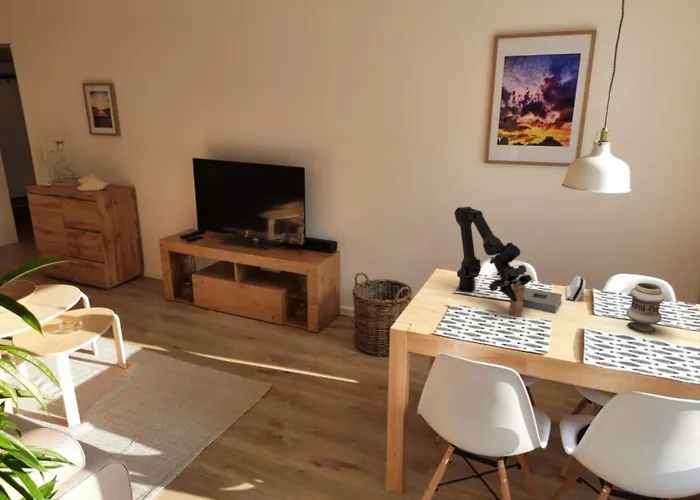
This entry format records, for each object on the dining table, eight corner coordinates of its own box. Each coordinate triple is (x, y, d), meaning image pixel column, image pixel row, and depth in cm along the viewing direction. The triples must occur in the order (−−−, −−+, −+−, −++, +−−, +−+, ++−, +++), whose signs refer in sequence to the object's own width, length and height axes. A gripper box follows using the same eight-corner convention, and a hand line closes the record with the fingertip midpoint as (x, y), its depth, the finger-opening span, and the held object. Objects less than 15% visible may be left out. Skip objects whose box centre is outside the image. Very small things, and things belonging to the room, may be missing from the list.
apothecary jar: (617, 324, 205) (624, 282, 200) (638, 320, 210) (645, 278, 205) (644, 336, 194) (653, 292, 189) (665, 331, 199) (674, 288, 194)
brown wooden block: (509, 313, 214) (512, 284, 210) (515, 312, 215) (518, 283, 212) (515, 316, 211) (518, 287, 207) (521, 315, 212) (524, 286, 208)
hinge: (564, 288, 245) (575, 270, 241) (574, 293, 244) (584, 275, 240) (565, 300, 230) (576, 281, 226) (575, 305, 229) (586, 286, 225)
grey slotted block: (516, 305, 223) (517, 298, 222) (524, 294, 236) (525, 287, 235) (554, 313, 215) (555, 305, 214) (560, 301, 228) (561, 294, 227)
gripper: (496, 261, 206) (513, 295, 199) (531, 256, 214) (548, 289, 207) (482, 273, 215) (497, 307, 208) (516, 268, 223) (531, 300, 216)
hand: (519, 301), depth 210 cm, fingers closed on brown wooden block, 3 cm apart
